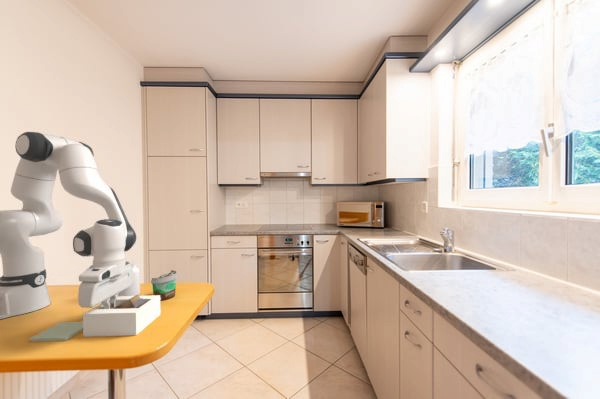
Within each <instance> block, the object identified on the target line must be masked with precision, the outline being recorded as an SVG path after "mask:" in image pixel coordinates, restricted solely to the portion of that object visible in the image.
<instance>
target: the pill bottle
mask: <svg viewBox="0 0 600 399" xmlns="http://www.w3.org/2000/svg"><path fill="white" fill-rule="evenodd" d="M126 262H129V263H130V264H131V268H132V270H133V277H134V282H133V285H132V286H130V287H128V288H126V289H125V290H123V291H121V292H119V293H118V296H136V295H137V294H138V295H139V296H141V295H140V294H141V278H140V277H141V276H140V275H141V273H140V272H141V270H140V268H139V267H137V261H135V260H128V261H127V260H126Z"/></svg>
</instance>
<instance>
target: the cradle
mask: <svg viewBox="0 0 600 399" xmlns="http://www.w3.org/2000/svg"><path fill="white" fill-rule="evenodd" d="M143 302H145V300H143V298H141V299H139V300H138V301H136V302H135V303H133V305H134V307H132V308H136V307H138V306H139V305H141V304H142V303H143Z"/></svg>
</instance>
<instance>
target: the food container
mask: <svg viewBox="0 0 600 399" xmlns="http://www.w3.org/2000/svg"><path fill="white" fill-rule="evenodd" d="M178 277H179V276H178V272H177V271H176V270H170V272H169V273H165V274H162V275H160V276H159V277H152V278H151V281H150V284H152V293H153V294H152V295H160V302H164V301H168V300H172V299H173V298H175V297H176V288H177V285H176V284H177V278H178Z"/></svg>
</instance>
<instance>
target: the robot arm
mask: <svg viewBox="0 0 600 399" xmlns="http://www.w3.org/2000/svg"><path fill="white" fill-rule="evenodd" d="M14 145H15V152H16V153H17V155H18V156H19V157H20V160H19V161H18V164H17V166H16V170H15V172H14V176H13V180H12V184H11V188H10V193H11V195H12V196H13V197H14V198H15V199H17V200H19V201H21V202H22V208H21V209H10V210H9V209H8V210H7V209H6V210H5V209H4V210H0V257H1V263H2V264H1V265H2V275H1V276H0V320H2V319H6V318H9V317H10V318H11V317H15V316H19V315H25V314H27V313H32V312H35V311H39V310H40V309H41V310H42V309H43V308H45V307H48V306H49V305H50V304H51V303H52V301H51V296H50V295H49V289H48V284H47V282H46V279H47V270H46V269H45V252H44V251H43V249H42V248H40V247H38V246H34V245H32V244H31V242H30V239H29V237H30V238H31V237H39V236H45V235H48V234H51V233H54V232H57V231H59V230H60V229H61V227H62V225H63V217H62V214H60V212H58V211H57V210H56V209H55V208H54V206H53V200H52V196H53V192H54V187H55V182H56V180H57V174H58V175H59V181H60V184H61V186H62V188H63V189H64V191H65V192H67V193H68V194H69V195H71V196H73V197H75V198H78V199H82V200H87V201H89V202H93V203H95V204H98V205H99V206H101V207H102V208H103V209H104V211H105V212H106V215H107V217H108V219H106V218H105V219H99V220H96V221H95V222H94V224H93V225H92V226H91V227H88V228H85V229H81V230H79V231H78V232H77V233H76V234H75V235H74V237H73V239H72V247H73V248H72V249H73V251H74V253H76V254H77V255H79V256H81V257H84V258H85V257H87V258H89V257H93V260H92V265H90V266H89V267H88V268H86V269H85V270H84V271H83V272H82V273H80V274H79V275H78V281H79V282H81V283H80V284H79V286H78V293H77V294H78V295H77V296H78V300H77V301H78V302H77V303H78V306H80V307H81V308H87V309H88V308H91V309H92V308H95V307H96V306H98V305H100V304H103V306H104V309H112V308H114V307H115V302H116V299H117V297H118V293H119V292H121V291H123V290H125V289H126V288H128V287H130V286H132V285H133V282H134V277H133V270H132V268H131V264H130V263H129V262H127V260H126V259H127V258H126V254H125V252H128V251H130V250H131V249H132V248H133V246H134V245H135V244H136V241H137V234H136V231H135V229H134V228H133V226H132V225H131V224H130V222H129V220H128V217H127V216H126V214H125V211H124V208H123V206H122V204H121V201H120V200H119V197H118V196H117V194H116V192H115V190H114V189H113V188H112V187H111V186H109V185H108V184H107V183H106V182H105V180H103V178H102V176H101V175H100V172H99V168H98V164H97V162H96V158H95V157H94V156H95V154H94V151H93V148H92V147H91V146H90V145H88V144H86V143H85V142H82V141H76V140H74V139H69V138H68V137H63V136H57V135H52V134H45V133H42V132H38V131H37V132H35V131H25V132H23V133H21V134H19V136H17V137H16V141H15V144H14Z"/></svg>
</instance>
